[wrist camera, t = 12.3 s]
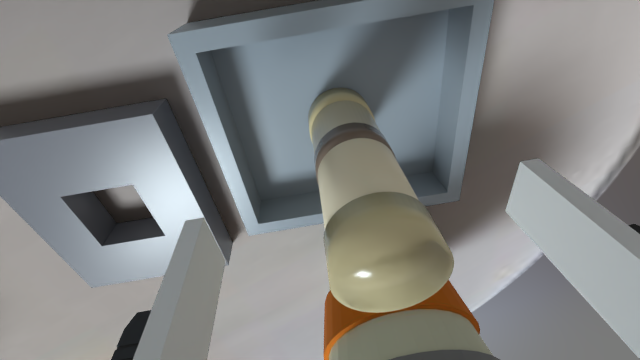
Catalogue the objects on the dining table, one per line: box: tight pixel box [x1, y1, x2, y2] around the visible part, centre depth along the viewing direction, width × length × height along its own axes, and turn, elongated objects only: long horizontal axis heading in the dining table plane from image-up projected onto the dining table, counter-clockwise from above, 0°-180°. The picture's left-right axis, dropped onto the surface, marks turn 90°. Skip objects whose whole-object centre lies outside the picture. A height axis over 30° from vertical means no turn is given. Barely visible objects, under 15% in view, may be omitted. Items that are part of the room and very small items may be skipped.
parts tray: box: [168, 0, 494, 236], centre depth 20 cm, size 14×16×4 cm
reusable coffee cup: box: [324, 280, 499, 360], centre depth 25 cm, size 12×13×15 cm
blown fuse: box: [308, 87, 454, 313], centre depth 15 cm, size 4×4×13 cm
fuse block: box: [0, 99, 233, 288], centre depth 23 cm, size 14×12×2 cm
